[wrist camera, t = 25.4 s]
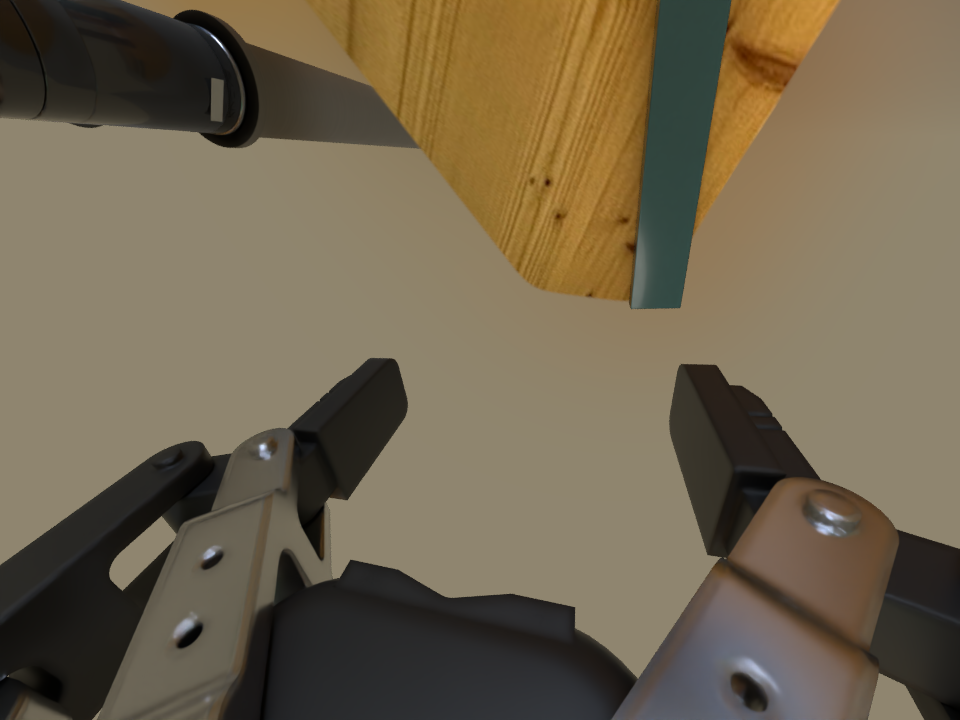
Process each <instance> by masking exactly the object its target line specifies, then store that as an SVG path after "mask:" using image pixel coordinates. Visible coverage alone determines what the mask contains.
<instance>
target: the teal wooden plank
mask: <svg viewBox="0 0 960 720" xmlns="http://www.w3.org/2000/svg"><path fill="white" fill-rule="evenodd" d="M730 6H731V0H657V5H656V16H655V27H654V37H653V48H652V59H651V70H650V81H649V92H648V103H647V114H646V124H645V135H644V146H643V157H642V168H641V179H640V190H639V201H638V211H637V222H636V233H635V244H634V255H633V266H632V277H631V287H630V298H629V305H630V308H631V309H654V308H655V309H656V308H680V307H681V301H682V294H683V289H684V283H685V277H686V271H687V264H688V259H689V252H690V247H691V241H692V235H693V229H694V223H695V217H696V211H697V205H698V199H699V193H700V187H701V181H702V175H703V168H704V162H705V156H706V150H707V144H708V138H709V132H710V126H711V120H712V114H713V108H714V102H715V96H716V90H717V84H718V78H719V72H720V66H721V60H722V54H723V48H724V42H725V36H726V30H727V24H728V18H729V12H730Z"/></svg>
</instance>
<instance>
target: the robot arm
mask: <svg viewBox="0 0 960 720" xmlns="http://www.w3.org/2000/svg"><path fill="white" fill-rule="evenodd" d="M247 112H248V92H247V87H246V82H245V79H244V76H243V73H242V70H241V68H240V66H239V64H238V62H237V60H236V58H235V56H234V55H233V53H232V52H231V50H230V49H229V48H228V46H227V45H226V44H225V43H224V42H223V41H222V40H221V39H220V38H219V37H218V36H217V35H216V34H214V33H213V32H211V31H210V30H208V29H205V28H203V27H200V26H197V25H194V24H187V23H184V22H181V21H179V20H176V19H173V18H170V17H167V16H165V15H162V14H159V13H156V12H153V11H150V10H147V9H144V8H142V7H138V6H135V5H133V4H130V3H127V2H124V1H121V0H0V118H9V119H25V120H38V121H52V122H66V123H70V124H73V125H76V126H79V127H84V128H96V127H100V126H103V125H109V126H123V127H124V126H125V127H138V128H150V129H164V130H179V131H190V132H204V133H212V134H217V135H230V134H233V133H235V132H237V131H238V130H239V129H240V128H241V127H242V126H243V124H244V122H245V120H246V117H247ZM407 408H408V402H407V396H406V393H405V389H404V385H403V381H402V378H401V374H400V370H399V366H398V364H397V362H396V361H395V360H394V359H390V358H389V359H388V358H370V359H368V360H367V361H366V362H365V363H364V364H363V365H362V366H360V367H359V368H358V369H357V370H356V371H355V372H354V373H353V374H352V375H350V376H348V377H347V378H345V379H343V380H341V381H340V382H339V383H337V384H336V385H335V386H334V387H333V388H332V389H331V390H330V391H329V393H326V394H325V395H324V396H323V397H322V398H321V399H320V402H319V401H318V402H316V403H315V404H314V405H313V406H312V407H311V408H310V409H309V410H307V411H306V412H305V413H304V414H303V415H302V416H301V417H300V418H298V420H296V421H295V422H294V423H293V424H292V425H291V426H290V427H289V428H287V429H286V428H276V429H271V430H267V431H264V432H261V433H259V434H256V435H254V436H253V437H251V438H249V439H247V440H246V441H244V442H243V443H242V444H240V445H239V446H238V447H237V448H236V449H235V450H234V451H233V453H232V454H225V455H219V456H212V457H211V456H210V454H209V452H208V451H207V449H206V448H205V446H204V445H203V443H201V442H198V441H189V442H184V443H180V444H177V445H174V446H171V447H169V448H167V449H164V450H162V451H160V452H159V453H157V454H155V455H153V456H152V457H150V458H149V459H147V460H146V461H145V462H143V463H142V464H140V465H139V466H138V467H136V468H135V469H133V470H132V471H131V472H129V473H128V474H127V475H125V476H124V477H122V478H121V479H120V480H118V481H117V482H115V483H114V484H113V485H111V486H110V487H108V488H107V489H106V490H104V491H103V492H101V493H100V494H99V495H98V496H96V497H94V498H93V499H92V500H90V501H89V502H88V503H86V504H85V505H83V506H82V507H81V508H79V509H78V510H76V511H75V512H74V513H72V514H71V515H69V516H68V517H67V518H65V519H64V520H63V521H61V522H60V523H58V524H57V525H56V526H54V527H53V528H51V529H50V530H49V531H47V532H46V533H44V534H43V535H42V536H40V537H39V538H37V539H36V540H35V541H33V542H32V543H30V544H29V545H28V546H26V547H25V548H24V549H22V550H21V551H19V552H18V553H17V554H15V555H14V556H12V557H11V558H10V559H8V560H7V561H5V562H4V563H3V564H1V565H0V720H92V719H93V718H94V717H95V715H96V714H97V713H98V712H99V711H100V710H101V708H102V710H101V712H100V714H99V717H98V719H97V720H868V716H869V712H870V708H871V704H872V700H873V696H874V692H875V688H876V684H877V680H878V674H879V673H880V674H883V675H885V676H887V677H889V678H891V679H893V680H895V681H898V682H900V683H902V684H904V685H905V686H906V688H907V689H908V691H909V693H910V695H911V696H912V698H913V700H914V702H915V704H916V705H917V707H918V709H919V711H920V713H921V715H922V716H923V718H924V720H960V549H958V548H955V547H951V546H948V545H945V544H942V543H938V542H935V541H932V540H929V539H925V538H922V537H919V536H915V535H913V534H909V533H906V532H903V531H900V530H897V529H895V527H894V525H893V524H892V522H891V521H890V520H889V518H888V517H887V516H885V514H884V513H883V512H882V511H881V510H879V509H878V508H877V507H876V506H874V505H873V504H872V503H870V502H869V501H867V500H866V499H864V498H863V497H861V496H859V495H857V494H856V493H854V492H852V491H850V490H847V489H845V488H843V487H840V486H838V485H835V484H833V483H829V482H826V481H823V480H821V479H820V478H819V476H818V475H817V474H816V472H815V471H814V469H813V468H812V467H811V466H810V464H809V463H808V461H807V460H806V459H805V457H804V456H803V455H802V453H801V452H800V451H799V449H798V448H797V447H796V445H795V444H794V442H793V441H792V440H791V438H790V437H789V436H788V434H787V433H786V432H785V431H782V426H781V425H780V424H779V422H778V421H777V420H776V418H775V417H773V416H772V413H771V411H770V410H769V409H768V407H767V406H766V405H765V404H764V402H763V401H762V399H761V398H759V397H758V396H756V395H754V394H753V393H751V392H750V391H749V390H747V389H746V388H744V387H743V386H735V385H729V384H728V382H727V381H726V379H725V377H724V376H723V374H722V373H721V371H720V370H719V368H718V367H717V366H716V365H697V364H681V365H680V366H679V368H678V371H677V377H676V383H675V388H674V394H673V399H672V406H671V411H670V420H669V422H670V423H669V425H670V434H671V439H672V442H673V445H674V449H675V452H676V455H677V458H678V462H679V465H680V468H681V471H682V474H683V477H684V481H685V484H686V487H687V491H688V494H689V497H690V500H691V503H692V506H693V510H694V513H695V516H696V519H697V522H698V526H699V529H700V532H701V535H702V539H703V542H704V545H705V548H706V552H707V555H711V556H718V557H722V558H720V559H719V560H718V561H717V563H716V564H715V565H714V566H713V568H712V570H711V571H710V572H709V574H708V575H707V577H706V578H705V580H704V581H703V583H702V584H701V586H700V587H699V589H698V590H697V592H696V593H695V595H694V596H693V598H692V599H691V601H690V602H689V604H688V605H687V607H686V608H685V610H684V611H683V613H682V614H681V616H680V617H679V619H678V620H677V622H676V623H675V625H674V626H673V628H672V629H671V631H670V632H669V634H668V635H667V637H666V638H665V640H664V641H663V643H662V644H661V646H660V647H659V649H658V650H657V652H656V653H655V655H654V656H653V658H652V659H651V661H650V662H649V664H648V665H647V667H646V668H645V670H644V671H643V673H642V674H641V676H640V677H639V679H637V677H636V676H635V675H634V674H633V673H632V672H631V671H630V670H629V669H628V668H627V667H626V666H625V665H624V664H623V663H622V661H621V660H619V659H618V658H617V657H616V656H615V655H614V654H613V653H611V652H610V651H609V650H608V649H607V648H605V647H604V646H603V645H601V644H600V643H599V642H597V641H596V640H594V639H593V638H591V637H590V636H589V635H587V634H585V633H583V632H581V631H579V630H577V629H575V607H571V606H567V605H562V604H556V603H552V602H548V601H543V600H538V599H533V598H529V597H524V596H519V595H515V594H503V595H488V596H474V597H461V598H460V597H459V598H448V597H444V596H442V595H440V594H438V593H437V592H435V591H433V590H432V589H430V588H428V587H427V586H425V585H423V584H421V583H420V582H418V581H416V580H415V579H413V578H411V577H410V576H408V575H406V574H404V573H403V572H401V571H399V570H396V569H392V568H387V567H382V566H378V565H373V564H368V563H363V562H359V561H354V560H350V562H349V563H348V565H347V567H346V568H345V570H344V572H343V574H342V575H341V577H340V578H337V579H333V578H332V571H331V534H330V509H329V507H328V505H327V503H326V501H327V499H328V498H329V497H330V498H336V499H343V500H348V499H349V497H350V496H351V494H352V493H353V491H354V490H355V488H356V487H357V486H358V484H359V482H360V481H361V480H362V478H363V477H364V476H365V474H366V473H367V471H368V470H369V468H370V467H371V466H372V464H373V463H374V461H375V460H376V458H377V457H378V456H379V454H380V453H381V451H382V450H383V448H384V447H385V446H386V444H387V443H388V441H389V440H390V438H391V437H392V436H393V434H394V433H395V431H396V430H397V428H398V427H399V425H400V424H401V423H402V421H403V420H404V418H405V416H406V413H407ZM161 516H162V517H163V518H164V519H165V521H166V522H167V523H168V524H169V525H170V527H171V528H172V529H173V530H174V532H175V533H176V534H177V536H176V538H175V540H174V541H173V542H172V543H171V544H170V545H169V546H168V547H167V548H166V549H165V550H164V551H163V552H162V553H161V554H160V555H159V556H158V557H157V558H156V559H155V560H154V561H153V562H152V563H151V564H150V565H149V566H148V567H147V568H146V569H144V570H143V572H141V573H140V574H139V575H138V577H136V578H135V579H134V580H133V581H132V582H131V583H130V584H129V585H128V587H126V588H125V589H124V590H123V591H122V590H121V589H119V588H118V587H117V586H116V585H115V584H114V583H113V582H112V581H111V580H110V577H109V570H110V567H111V564H112V562H113V561H114V559H115V558H116V556H117V555H118V554H119V553H120V552H121V551H122V550H124V549H125V548H126V547H127V546H128V545H129V544H130V543H131V542H132V541H134V540H135V539H136V538H137V537H138V536H139V535H140V534H142V533H143V532H144V531H145V530H146V529H147V528H148V527H149V526H151V525H152V524H153V523H154V522H155V521H156V520H157V519H158V518H160V517H161ZM723 557H725V558H727V559H724V558H723ZM8 675H9V677H7V676H8Z"/></svg>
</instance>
